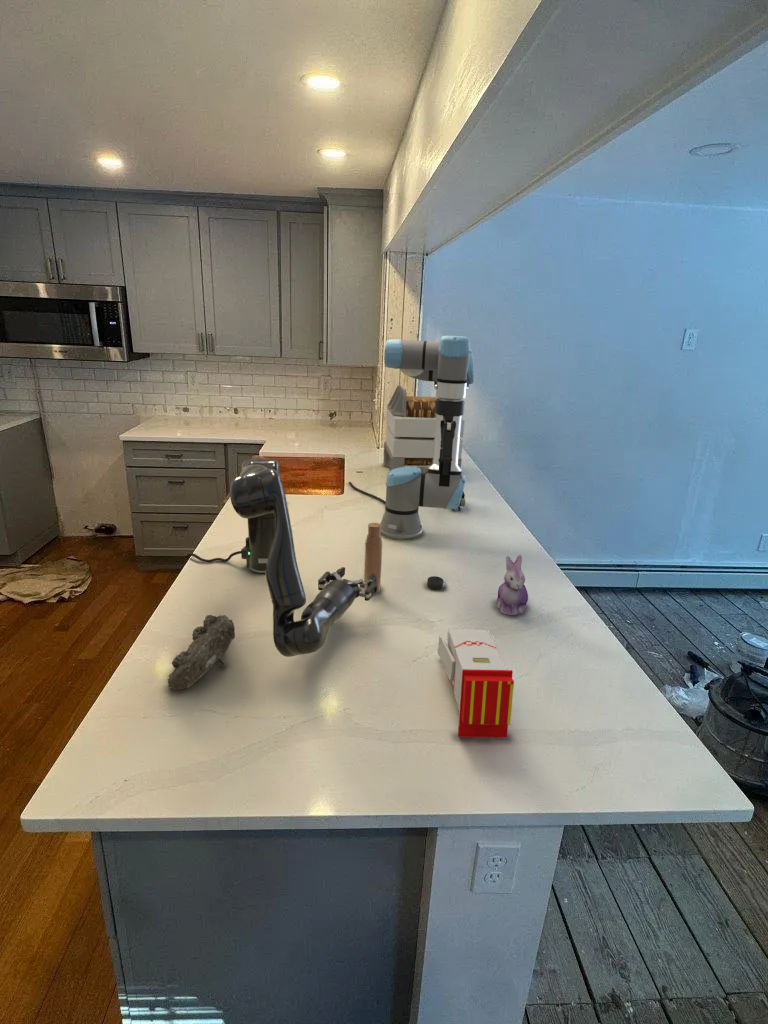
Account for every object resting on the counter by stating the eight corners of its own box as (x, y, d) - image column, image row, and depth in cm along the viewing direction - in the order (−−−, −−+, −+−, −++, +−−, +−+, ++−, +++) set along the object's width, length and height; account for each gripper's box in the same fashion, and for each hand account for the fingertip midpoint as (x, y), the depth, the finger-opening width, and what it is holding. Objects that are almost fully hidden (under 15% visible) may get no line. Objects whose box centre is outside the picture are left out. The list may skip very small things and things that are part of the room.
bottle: (382, 588, 161) (385, 523, 154) (376, 595, 157) (378, 529, 150) (367, 584, 163) (370, 520, 156) (360, 591, 158) (362, 525, 152)
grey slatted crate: (382, 463, 289) (386, 382, 275) (445, 464, 293) (451, 384, 279) (390, 482, 257) (394, 392, 243) (460, 483, 261) (468, 394, 247)
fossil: (190, 617, 133) (235, 588, 128) (218, 645, 136) (264, 617, 131) (146, 683, 113) (197, 651, 108) (180, 714, 116) (232, 684, 111)
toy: (488, 613, 130) (523, 677, 101) (484, 667, 133) (517, 744, 104) (435, 612, 130) (455, 676, 101) (432, 666, 133) (451, 743, 103)
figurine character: (465, 515, 224) (460, 499, 237) (467, 498, 221) (462, 483, 234) (448, 515, 224) (444, 499, 237) (450, 498, 220) (445, 482, 234)
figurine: (510, 620, 147) (517, 567, 142) (486, 602, 155) (492, 552, 150) (538, 612, 151) (545, 561, 146) (513, 595, 159) (519, 546, 154)
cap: (432, 581, 166) (433, 574, 165) (445, 586, 164) (446, 579, 163) (423, 586, 163) (424, 579, 162) (437, 591, 160) (437, 584, 159)
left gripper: (361, 594, 130) (385, 565, 144) (305, 581, 134) (334, 555, 148) (360, 622, 132) (383, 591, 147) (305, 609, 137) (333, 581, 151)
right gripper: (435, 391, 157) (430, 465, 164) (435, 406, 133) (429, 491, 141) (462, 393, 156) (456, 467, 164) (467, 407, 133) (459, 493, 140)
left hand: (358, 573), depth 148 cm, fingers open, 8 cm apart
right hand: (443, 478), depth 152 cm, fingers open, 13 cm apart
